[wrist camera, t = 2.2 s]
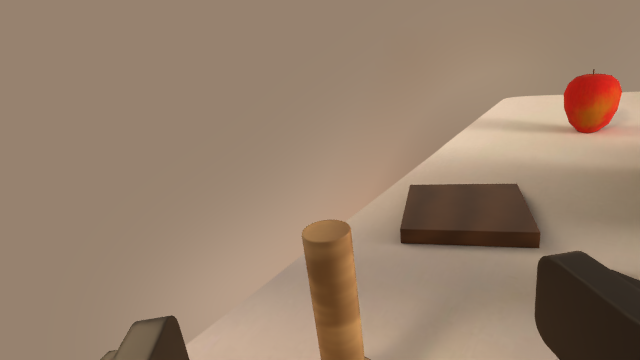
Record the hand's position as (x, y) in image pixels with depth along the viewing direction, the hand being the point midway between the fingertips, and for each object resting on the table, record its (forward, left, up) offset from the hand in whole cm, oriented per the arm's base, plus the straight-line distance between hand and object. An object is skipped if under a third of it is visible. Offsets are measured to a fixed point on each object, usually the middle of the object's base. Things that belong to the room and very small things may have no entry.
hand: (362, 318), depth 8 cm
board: (+4, +39, -16) cm, 43 cm away
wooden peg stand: (-4, +10, -16) cm, 20 cm away
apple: (+29, +80, -16) cm, 87 cm away
